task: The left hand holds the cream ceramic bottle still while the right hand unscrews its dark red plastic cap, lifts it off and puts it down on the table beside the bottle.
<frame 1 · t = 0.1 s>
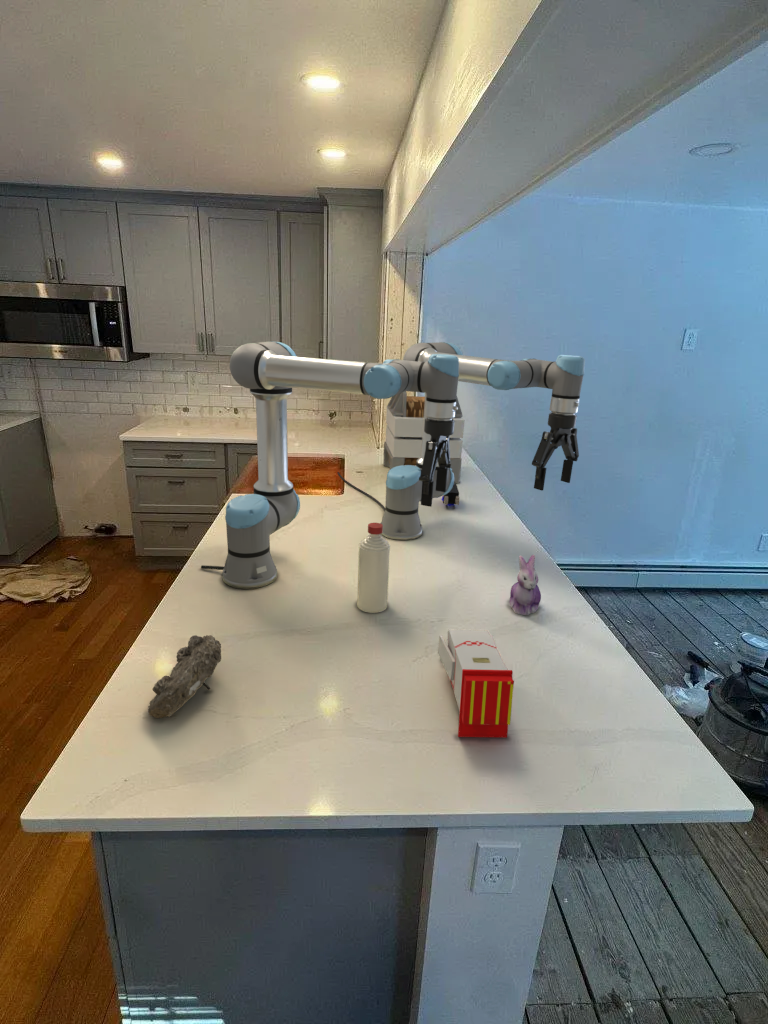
left hand: (433, 498, 150), 28 cm above the counter, tool pointing down, fingers open, 13 cm apart
right hand: (552, 485, 166), 28 cm above the counter, tool pointing down, fingers open, 13 cm apart
figurine: (524, 607, 153), on the counter
bottle: (372, 605, 151), on the counter
figurine character: (449, 504, 232), on the counter
cap: (375, 526, 144), point 23 cm above the counter, screwed on, not yet turned
white slatted crate: (419, 473, 275), on the counter
fossil: (191, 688, 116), on the counter
toy: (469, 691, 119), on the counter
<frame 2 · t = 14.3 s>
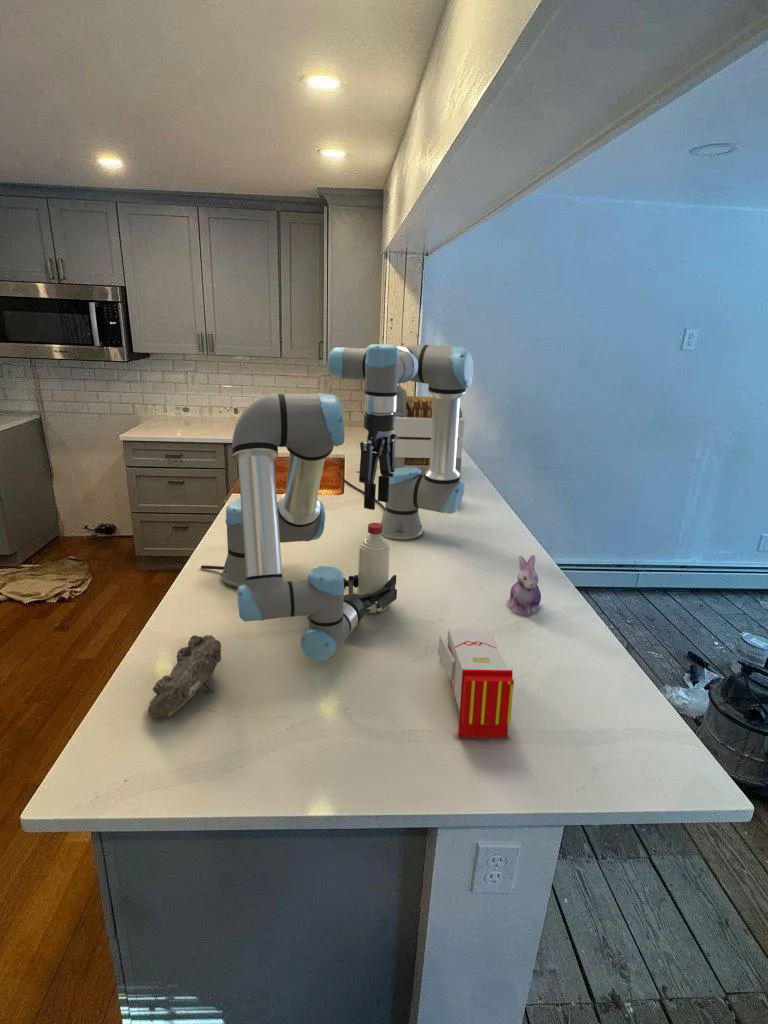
left hand: (379, 576, 153), 6 cm above the counter, tool horizontal, fingers closed on bottle, 8 cm apart
right hand: (376, 504, 142), 28 cm above the counter, tool pointing down, fingers open, 6 cm apart
bottle: (372, 605, 151), on the counter, touching left hand
everything else where it was.
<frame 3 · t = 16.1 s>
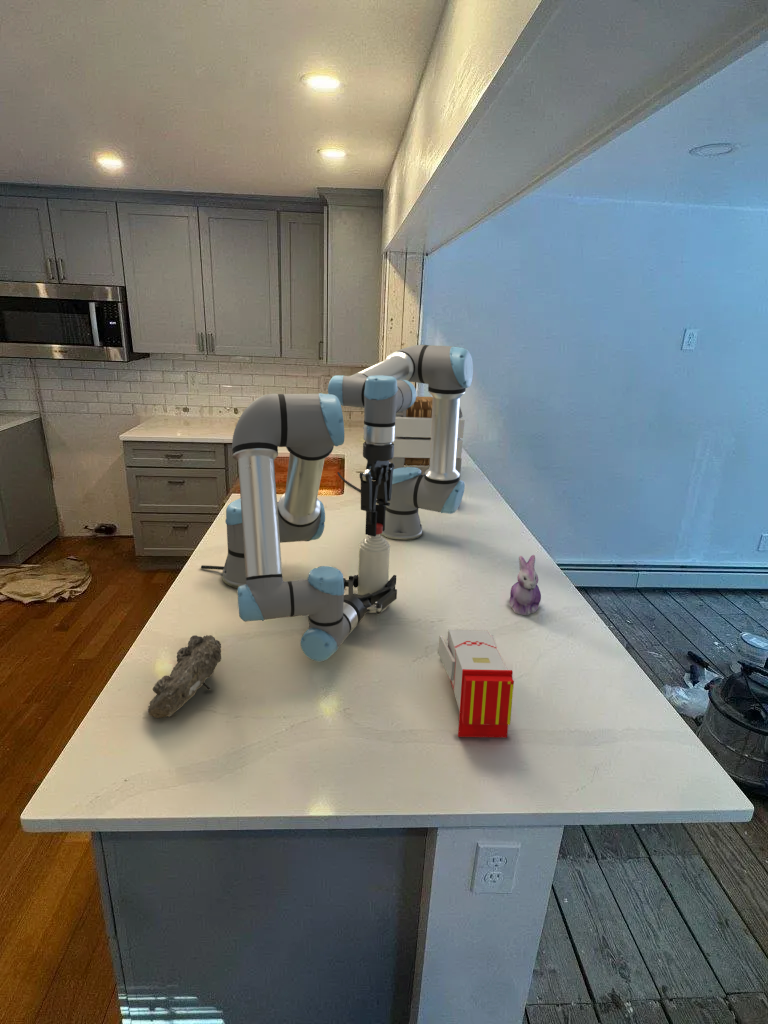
left hand: (379, 576, 153), 6 cm above the counter, tool horizontal, fingers closed on bottle, 8 cm apart
right hand: (375, 532, 144), 21 cm above the counter, tool pointing down, fingers closed on cap, 4 cm apart
bottle: (372, 605, 151), on the counter, touching left hand
cap: (375, 526, 144), point 23 cm above the counter, screwed on, not yet turned, touching right hand
everything else where it was.
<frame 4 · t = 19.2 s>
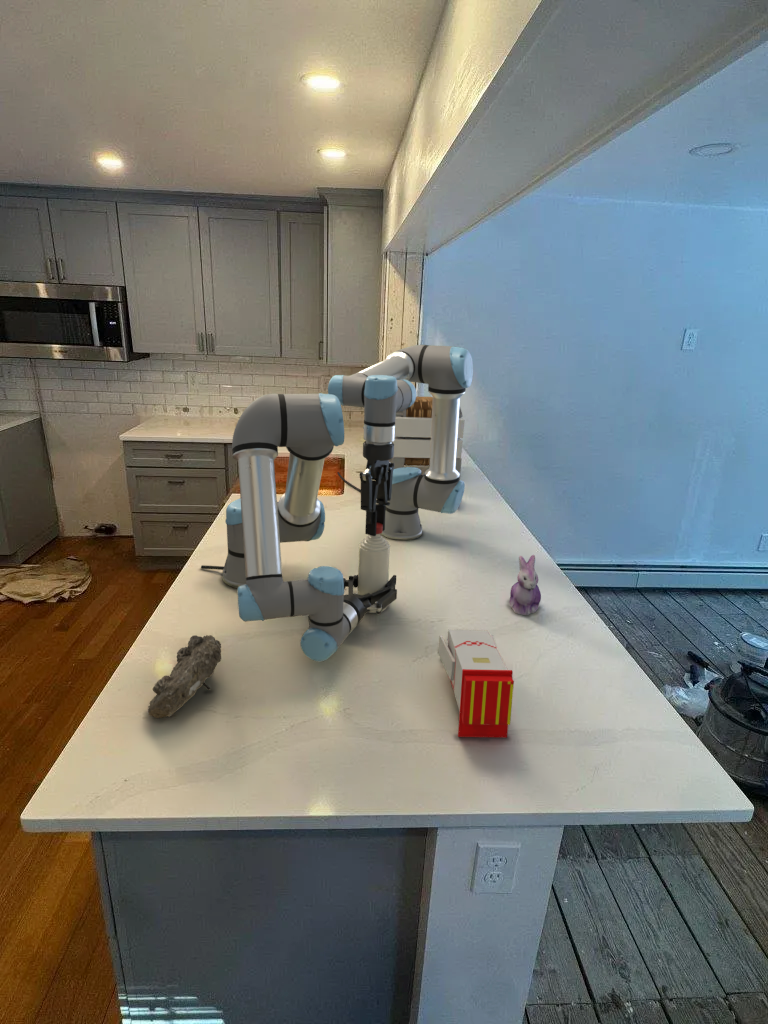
left hand: (379, 576, 153), 6 cm above the counter, tool horizontal, fingers closed on bottle, 8 cm apart
right hand: (375, 531, 144), 21 cm above the counter, tool pointing down, fingers closed on cap, 4 cm apart
bottle: (372, 605, 151), on the counter, touching left hand
cap: (375, 526, 144), point 23 cm above the counter, turned 88° so far, risen 0.1 cm, still on its thread, touching right hand
everything else where it was.
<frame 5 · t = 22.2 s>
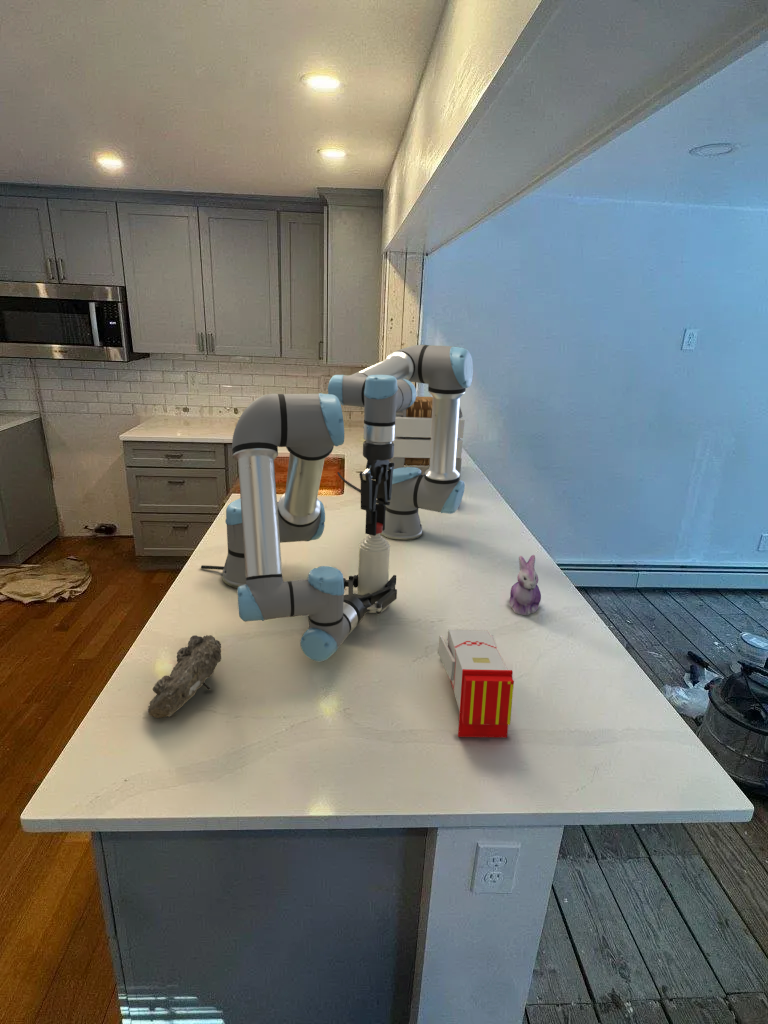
left hand: (379, 576, 153), 6 cm above the counter, tool horizontal, fingers closed on bottle, 8 cm apart
right hand: (375, 531, 144), 21 cm above the counter, tool pointing down, fingers closed on cap, 4 cm apart
bottle: (372, 605, 151), on the counter, touching left hand
cap: (375, 525, 144), point 23 cm above the counter, turned 176° so far, risen 0.2 cm, still on its thread, touching right hand
everything else where it was.
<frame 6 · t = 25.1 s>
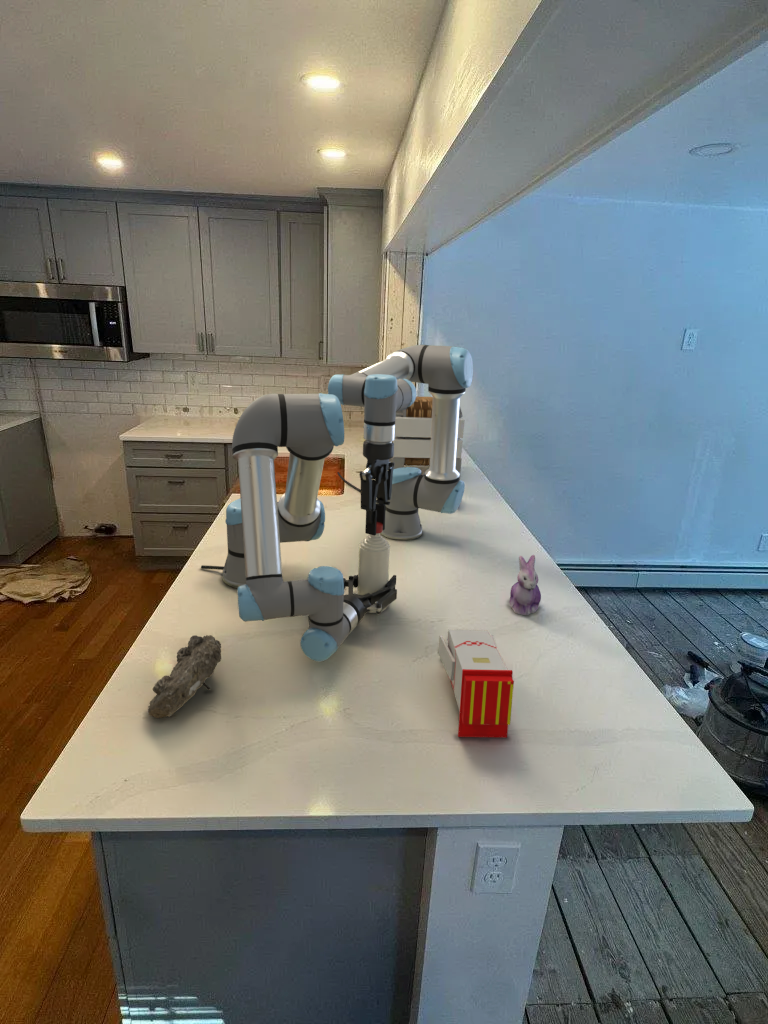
left hand: (379, 576, 153), 6 cm above the counter, tool horizontal, fingers closed on bottle, 8 cm apart
right hand: (375, 531, 144), 21 cm above the counter, tool pointing down, fingers closed on cap, 4 cm apart
bottle: (372, 605, 151), on the counter, touching left hand
cap: (375, 525, 144), point 23 cm above the counter, turned 265° so far, risen 0.2 cm, still on its thread, touching right hand
everything else where it was.
when the right hand's fingers open (1 cm above the counter, at t = 34.3 s): cap drops 1 cm, point 1 cm above the counter.
when the left hand's fingers open (6 cm above the counter, at t = 35.6 s): bottle stays where it is, on the counter.
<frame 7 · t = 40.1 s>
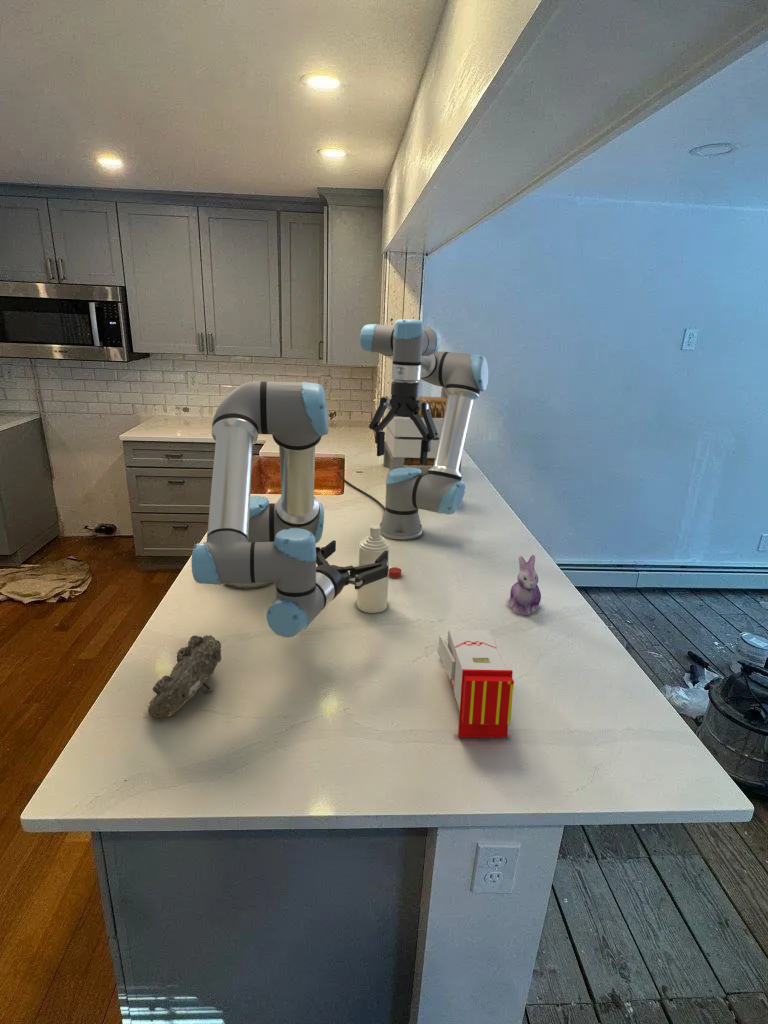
left hand: (360, 550, 136), 20 cm above the counter, tool horizontal, fingers open, 13 cm apart
right hand: (401, 459, 157), 36 cm above the counter, tool pointing down, fingers open, 13 cm apart
bottle: (372, 605, 151), on the counter
cap: (395, 570, 168), point 1 cm above the counter, off its thread
everything else where it was.
at the end: cap came off its thread; cap point 1.5 cm above the counter; the left hand is holding nothing; the right hand is holding nothing; bottle tilted 0°; bottle moved 0.1 cm from its start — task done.
